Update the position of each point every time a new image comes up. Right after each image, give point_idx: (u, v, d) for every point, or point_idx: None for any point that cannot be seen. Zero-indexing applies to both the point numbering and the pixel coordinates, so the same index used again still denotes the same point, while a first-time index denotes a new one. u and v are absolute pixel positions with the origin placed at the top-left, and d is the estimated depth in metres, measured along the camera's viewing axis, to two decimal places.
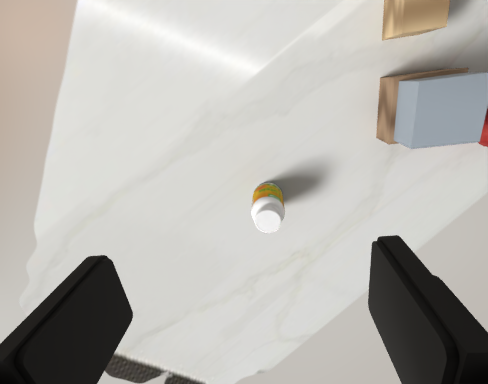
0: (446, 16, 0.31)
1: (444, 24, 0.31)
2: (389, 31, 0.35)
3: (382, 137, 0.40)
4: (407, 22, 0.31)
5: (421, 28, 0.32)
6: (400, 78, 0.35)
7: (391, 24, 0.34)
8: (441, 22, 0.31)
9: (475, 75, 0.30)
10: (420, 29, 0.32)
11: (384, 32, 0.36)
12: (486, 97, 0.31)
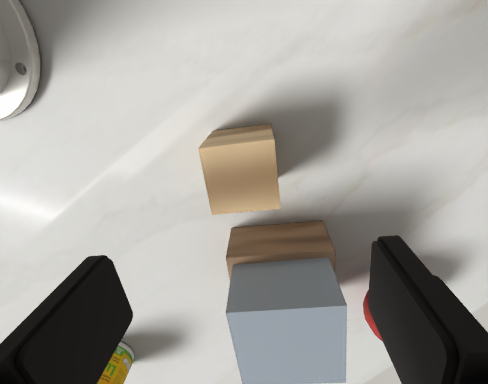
0: (277, 195, 0.18)
1: (276, 205, 0.19)
2: None
3: None
4: (215, 200, 0.19)
5: (241, 209, 0.19)
6: (235, 259, 0.22)
7: None
8: (271, 203, 0.19)
9: (315, 308, 0.17)
10: (240, 210, 0.19)
11: None
12: (341, 334, 0.18)
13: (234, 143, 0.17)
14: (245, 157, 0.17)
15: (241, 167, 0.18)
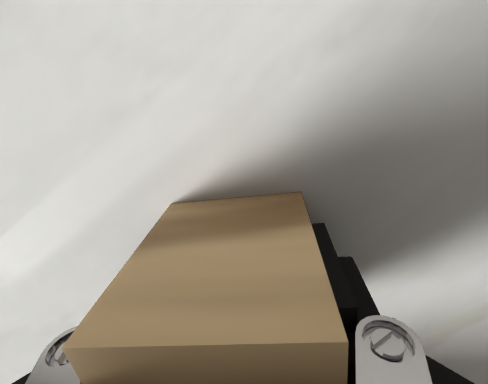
0: None
1: None
2: None
3: None
4: None
5: None
6: None
7: None
8: None
9: None
10: None
11: None
12: None
13: (192, 336, 0.05)
14: (233, 381, 0.05)
15: None
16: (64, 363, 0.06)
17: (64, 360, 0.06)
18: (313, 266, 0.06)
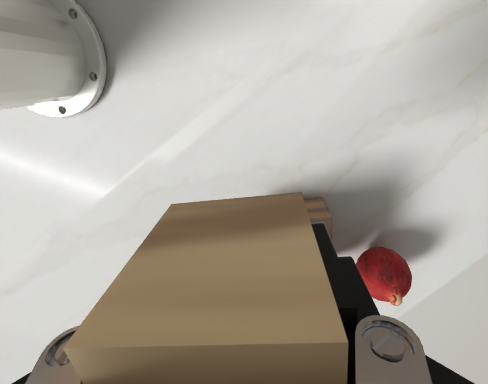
0: None
1: None
2: None
3: None
4: None
5: None
6: None
7: None
8: None
9: None
10: None
11: None
12: None
13: (193, 336, 0.05)
14: (234, 382, 0.05)
15: None
16: (64, 363, 0.06)
17: (64, 360, 0.06)
18: (313, 267, 0.06)
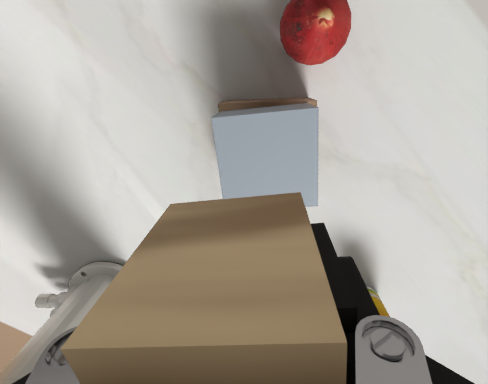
0: None
1: None
2: None
3: None
4: None
5: None
6: None
7: None
8: None
9: (216, 143, 0.21)
10: None
11: None
12: (247, 118, 0.20)
13: (191, 336, 0.05)
14: (232, 383, 0.05)
15: None
16: (64, 363, 0.06)
17: (64, 360, 0.06)
18: (312, 266, 0.06)
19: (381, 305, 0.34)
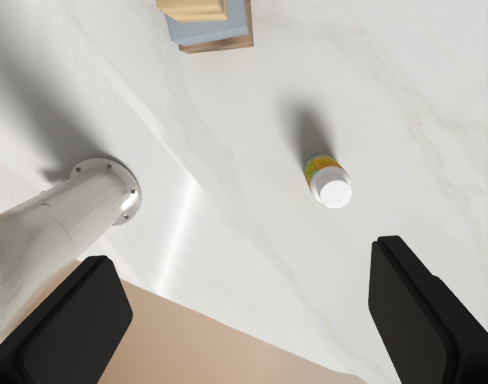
0: None
1: (214, 0, 0.21)
2: None
3: (248, 44, 0.34)
4: None
5: (183, 3, 0.21)
6: None
7: None
8: None
9: None
10: (182, 4, 0.21)
11: None
12: None
13: None
14: None
15: None
16: None
17: None
18: None
19: (336, 162, 0.38)
